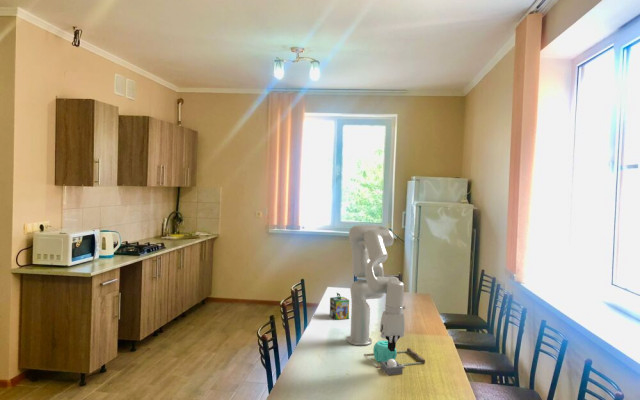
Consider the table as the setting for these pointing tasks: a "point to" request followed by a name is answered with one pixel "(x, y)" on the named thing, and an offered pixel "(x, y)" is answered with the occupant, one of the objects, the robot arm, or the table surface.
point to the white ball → (391, 363)
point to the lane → (415, 355)
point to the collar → (391, 368)
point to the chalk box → (339, 307)
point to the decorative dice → (383, 352)
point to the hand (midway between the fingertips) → (391, 350)
